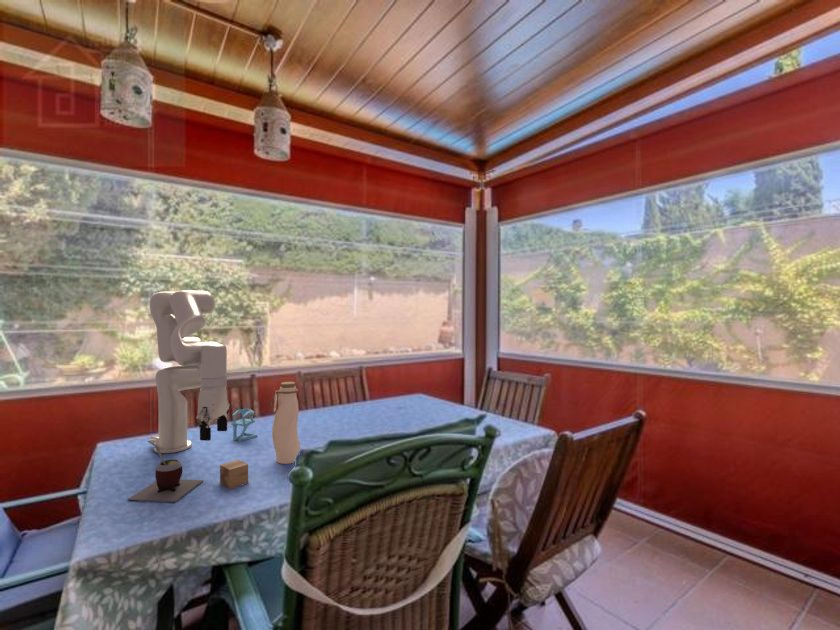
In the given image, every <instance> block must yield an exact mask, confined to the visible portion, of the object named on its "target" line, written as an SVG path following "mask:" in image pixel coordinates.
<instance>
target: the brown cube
mask: <svg viewBox="0 0 840 630" xmlns="http://www.w3.org/2000/svg"><path fill="white" fill-rule="evenodd" d="M219 484H220V485H222V486H223V485H224V487H226V488H227V489H228V490H232V489H234V488H236V487H240V486H243V485H246V484H249V464H248V463H246V462H244V461H242V460H241V459H236V460H232V461H229V462H225V463H222V464H219ZM242 484H243V485H242Z"/></svg>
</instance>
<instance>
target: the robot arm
mask: <svg viewBox="0 0 840 630" xmlns="http://www.w3.org/2000/svg"><path fill="white" fill-rule="evenodd" d="M214 309H215V300H214V296H213V295H212V294H211V293H210V292H209V291H208V290H207V291H206V290H188V289H187V290H185V289H184V290H177V291H159V292H155V293H154V294H152V295H151V296H150V299H149V312H150V315H151V318H152V320H153V322H154V325H155V327H156V337H157V339H156V341H157V351H158V358H159V360H160V361H161V362H162V363H167V364H168V363H170V364H171V363H177V364H178V365H171V366H170V365H169V366H165V367H162V368H160V369H158V370H157V371H156V373H155V376H154V379H155V385H156V392H157V401H158V406H157V409H158V436H157V435H153V436H151V437H149V438H150V439H149V441H150V442H152V443H154V444H155V445H157V446H158V447H159V450H160V452H161V454H174V453H178V452H182V451H186V450H188V449H190V448H191V447H192V441H191V440H188V401H187V398H186V397H185V396H184V395H183V394H182V393H181V392H180V391H184V390H191V389H192V390H193V389H199V388H200V389H199V394H198V402H197V403H198V404H197V415H196V417H195V418H196V421H197V425H198V428H199V440H200V441H207V442H208V441H211V437H212V431H211V430H212V429H211V427H210V425H211V424H212V421H214V420H216V430H217V432H226V431H228V418H229V415H228V414H229V412H230V411H229V410H230V403H229V402H228V392H227V391H228V390H227V385H228V383H227V379H228V377H227V376H228V375H227V374H228V372H227V370H228V369H227V366H228V360H227V359H228V358H227V353H228V351H227V346H226V345H225V344H223V343H219V342H217V341H203V340H202V339H201V338H199V337H196V336H191V335H193V334H196V333H197V332H199V331H201V330H202V329H203V328H204V326H205V325H206V318H205V316H204V315H205V314H210V313H212V312H213V311H214ZM153 452H155V453H156V454H157V453H158V451H157V450H156V447H155V446H153ZM158 454H159V453H158Z"/></svg>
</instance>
